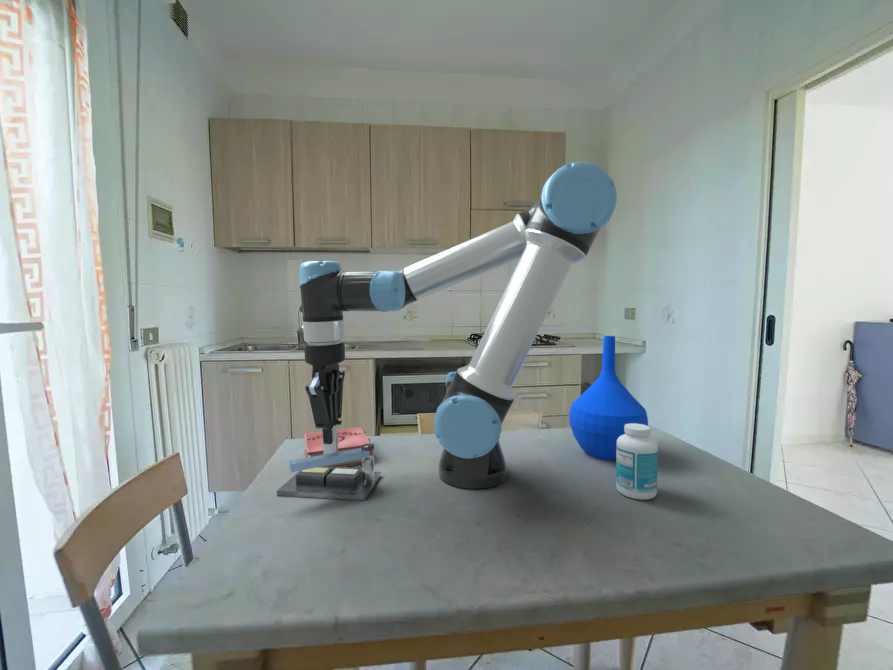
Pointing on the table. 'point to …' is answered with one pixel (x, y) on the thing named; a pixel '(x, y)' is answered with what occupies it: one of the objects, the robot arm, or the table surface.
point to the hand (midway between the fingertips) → (331, 457)
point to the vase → (604, 410)
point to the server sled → (333, 482)
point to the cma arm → (331, 458)
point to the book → (346, 441)
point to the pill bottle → (636, 462)
